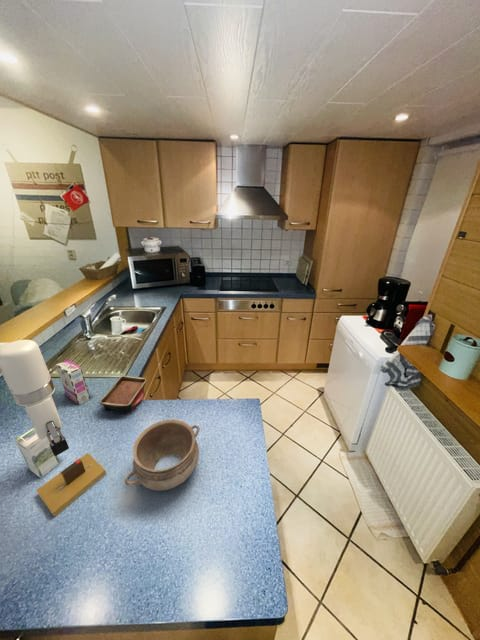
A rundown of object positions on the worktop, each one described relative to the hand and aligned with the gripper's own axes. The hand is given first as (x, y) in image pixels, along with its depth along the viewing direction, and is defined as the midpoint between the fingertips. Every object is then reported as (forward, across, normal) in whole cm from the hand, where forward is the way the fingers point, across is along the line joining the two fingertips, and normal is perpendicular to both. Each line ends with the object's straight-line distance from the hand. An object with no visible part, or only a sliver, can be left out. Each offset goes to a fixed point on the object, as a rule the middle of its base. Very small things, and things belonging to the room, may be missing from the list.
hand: (56, 440), depth 67 cm
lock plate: (+18, +1, 0) cm, 18 cm away
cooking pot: (+18, +17, +21) cm, 33 cm away
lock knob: (+15, +1, +1) cm, 15 cm away
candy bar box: (+18, -38, +13) cm, 44 cm away
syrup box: (+18, -11, -5) cm, 22 cm away
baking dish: (+18, -21, +25) cm, 38 cm away
